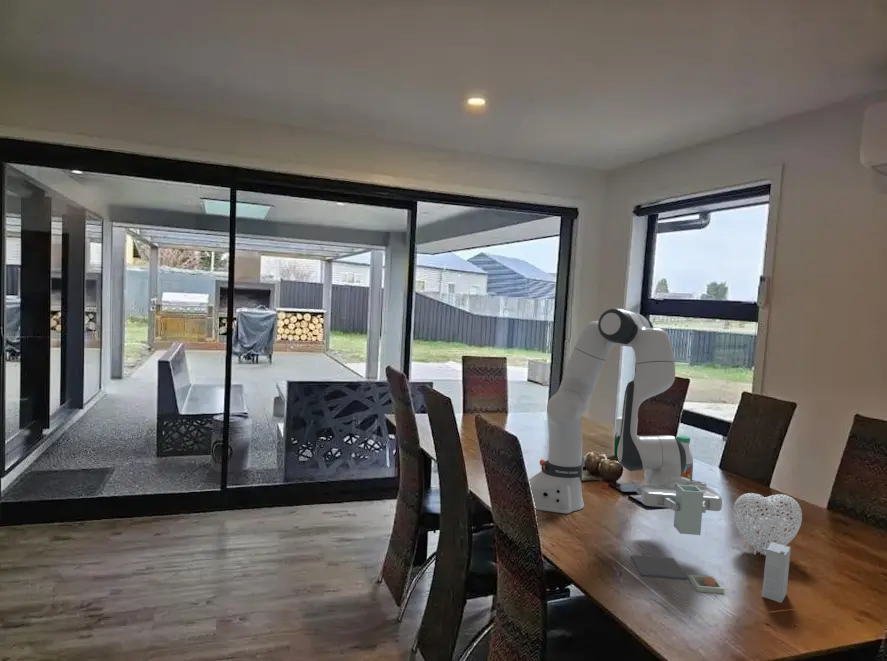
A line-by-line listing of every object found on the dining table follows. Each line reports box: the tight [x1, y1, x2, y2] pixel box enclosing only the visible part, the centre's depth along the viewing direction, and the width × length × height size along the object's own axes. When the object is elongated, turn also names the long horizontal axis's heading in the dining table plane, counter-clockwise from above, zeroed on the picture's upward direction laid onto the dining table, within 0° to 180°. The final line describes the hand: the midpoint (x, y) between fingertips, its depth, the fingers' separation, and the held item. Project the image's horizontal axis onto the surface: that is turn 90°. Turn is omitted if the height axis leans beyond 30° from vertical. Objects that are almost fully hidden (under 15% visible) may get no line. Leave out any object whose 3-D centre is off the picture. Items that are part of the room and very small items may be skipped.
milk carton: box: [613, 415, 639, 459], centre depth 258 cm, size 9×9×20 cm
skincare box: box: [761, 542, 792, 604], centre depth 134 cm, size 6×4×12 cm
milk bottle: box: [676, 435, 694, 480], centre depth 214 cm, size 8×8×20 cm
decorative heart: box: [732, 492, 803, 557], centre depth 158 cm, size 18×11×17 cm, turn 89°
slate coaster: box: [630, 554, 688, 581], centre depth 146 cm, size 11×11×1 cm
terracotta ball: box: [703, 576, 716, 587], centre depth 137 cm, size 3×3×3 cm
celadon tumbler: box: [673, 485, 704, 536], centre depth 146 cm, size 5×5×11 cm
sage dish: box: [688, 574, 725, 594], centre depth 138 cm, size 6×6×2 cm
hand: (689, 508), depth 145 cm, fingers closed on celadon tumbler, 5 cm apart
